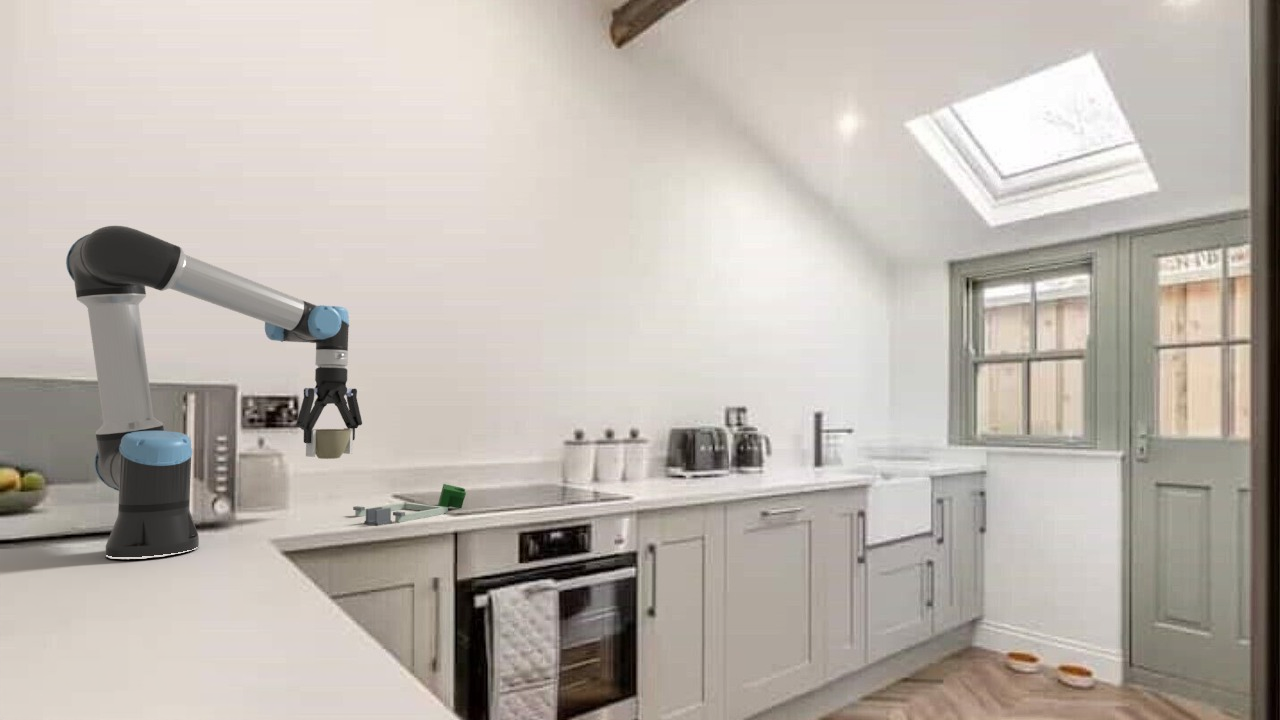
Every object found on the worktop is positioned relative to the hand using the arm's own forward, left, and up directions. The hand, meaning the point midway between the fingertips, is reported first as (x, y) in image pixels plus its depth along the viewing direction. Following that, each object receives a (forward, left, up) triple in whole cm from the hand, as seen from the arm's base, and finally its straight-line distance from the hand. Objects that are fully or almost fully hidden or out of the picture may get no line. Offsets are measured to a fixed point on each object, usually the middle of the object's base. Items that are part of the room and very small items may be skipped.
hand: (329, 454), depth 181 cm
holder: (+12, -13, -16) cm, 24 cm away
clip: (+1, -18, -16) cm, 24 cm away
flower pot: (0, 0, -1) cm, 1 cm away
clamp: (+28, -15, -16) cm, 35 cm away
